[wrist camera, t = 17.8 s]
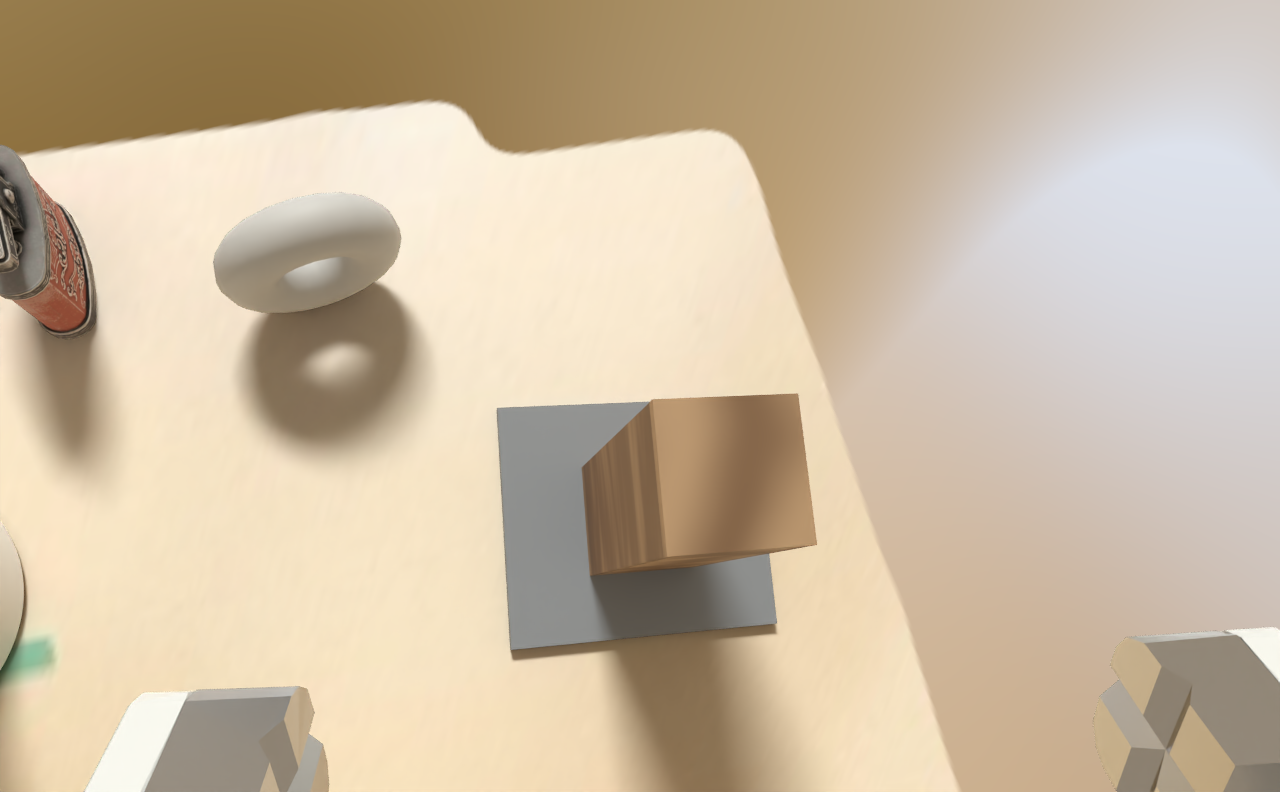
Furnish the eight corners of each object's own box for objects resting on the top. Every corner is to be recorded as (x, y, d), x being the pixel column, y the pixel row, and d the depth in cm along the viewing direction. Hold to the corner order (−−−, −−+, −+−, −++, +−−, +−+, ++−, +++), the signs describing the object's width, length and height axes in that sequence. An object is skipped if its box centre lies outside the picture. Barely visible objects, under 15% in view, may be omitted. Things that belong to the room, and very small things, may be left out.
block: (589, 575, 55) (667, 556, 37) (581, 467, 56) (652, 399, 39) (694, 567, 56) (817, 544, 39) (684, 461, 58) (797, 393, 40)
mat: (510, 649, 54) (511, 649, 53) (496, 409, 56) (497, 408, 56) (773, 623, 57) (776, 623, 57) (747, 399, 60) (751, 397, 60)
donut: (391, 235, 57) (384, 160, 48) (411, 286, 57) (408, 220, 48) (225, 285, 55) (182, 216, 45) (244, 339, 54) (205, 280, 45)
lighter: (11, 212, 53) (-80, 124, 43) (76, 200, 54) (1, 111, 44) (41, 345, 52) (-46, 284, 42) (107, 330, 53) (37, 268, 43)
